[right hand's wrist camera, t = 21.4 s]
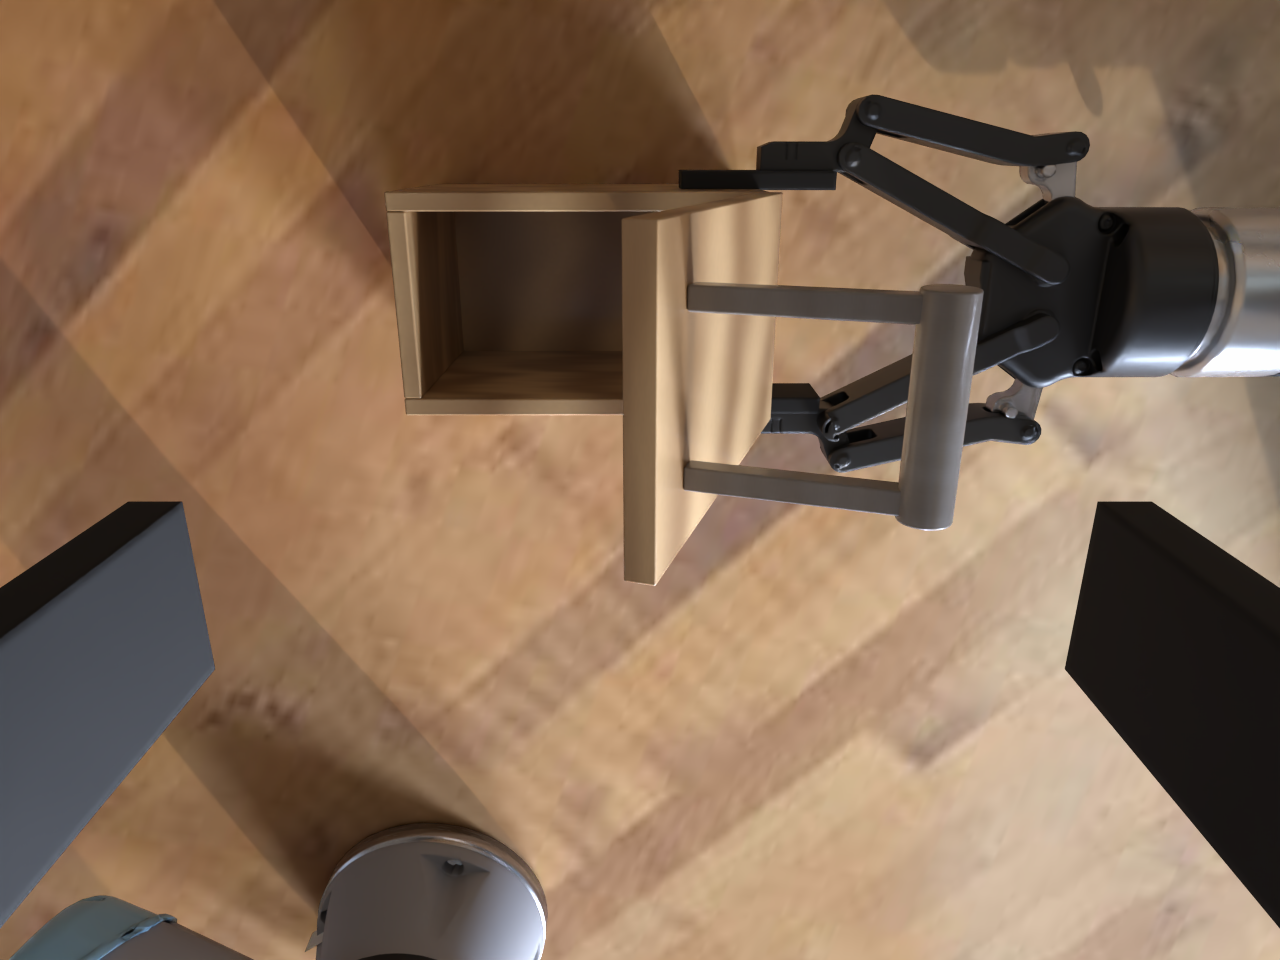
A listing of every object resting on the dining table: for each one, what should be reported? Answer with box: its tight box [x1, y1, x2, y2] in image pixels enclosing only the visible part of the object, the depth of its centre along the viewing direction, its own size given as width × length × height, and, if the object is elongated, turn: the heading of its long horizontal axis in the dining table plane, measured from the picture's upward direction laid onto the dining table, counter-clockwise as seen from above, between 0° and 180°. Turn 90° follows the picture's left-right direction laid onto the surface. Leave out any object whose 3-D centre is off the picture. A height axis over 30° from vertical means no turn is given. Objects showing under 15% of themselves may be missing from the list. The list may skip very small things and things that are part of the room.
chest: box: [385, 184, 767, 415], centre depth 41 cm, size 15×9×10 cm, turn 90°
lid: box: [622, 192, 984, 586], centre depth 27 cm, size 16×9×8 cm
